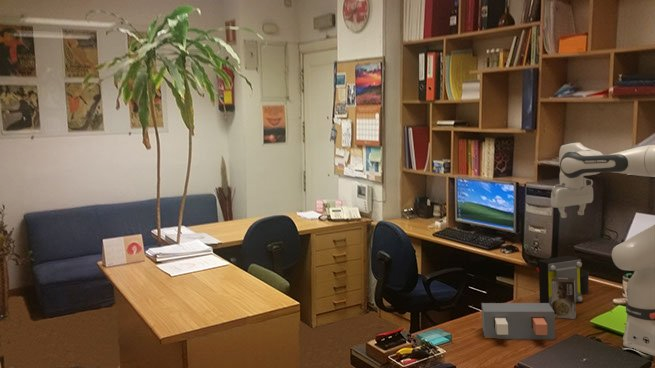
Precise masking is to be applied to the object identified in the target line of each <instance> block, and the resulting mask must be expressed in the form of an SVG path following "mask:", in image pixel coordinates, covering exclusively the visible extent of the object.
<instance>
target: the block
mask: <svg viewBox="0 0 655 368" xmlns="http://www.w3.org/2000/svg"><path fill="white" fill-rule="evenodd" d="M494 317H505V318H506V321H507V323H508V335H497V332H496V329H495V326H494ZM531 317H543V318H544V320H545V321H546V323H547V333H548V335H536V333H535V331H534V329H533V327H532V321H531ZM555 318H556V317H554V310H553V309H552V307H551V306H550V304H549V303H540V302H500V303H499V302H497V303H496V302H489V303H488V302H486V303H485V302H481V322H482V323H481V324H482V325H481V327H482V328H483V329H482V333H483V332H484V333H483V337H484V336H485V337H487V338H488V337H490V338H498V339H497V340H556V326H555V324H556V323H555V320H556V319H555ZM485 337H484V338H485Z"/></svg>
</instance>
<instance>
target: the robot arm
mask: <svg viewBox="0 0 655 368" xmlns="http://www.w3.org/2000/svg"><path fill="white" fill-rule="evenodd" d="M558 153H559V154H558V166H559V169H560V170H559V176H558V177H559V184H558V183H557V184H554V185H553V187H551V188H552V189H551V193H550V206H551V207H552V208H557V209H558V212H559V214H560V218H562V219H566V218H568V217H567V216H568V213H567V212H565V210H566V207H572V206H573V207H574V206H579V210H577V215H578V216H584V215H585V209H586V208H587V207H586V206H587V204H591V203H593V201H594V188H593V184H594V182H593V180H592V179H589V178H586V176H593V175H595V176H596V175H598V174H600V173H613V174H614V173H615V174H617V173H618V174H622V175H632V176H639V177H653V178H654V177H655V144H649V145H641V146H637V147H633V148H630V149H629V148H628V149H625V150H623V151H622V150H621V151H618V152H614V153H610V154H604V153H603V152H602V151H599V150H596V149H595V150H594V149H593V148H592V149H591V148H589V147H586V146H585V145H583V144H582V143H581V142H579V141H573V142H567V143H564V144H562V145H561V146H560V148H559V152H558ZM611 259H612V262H613V264H614V265H615V267H617V268H618V269H620V270H621V271H630V272H631V271H632V272H633V274H632V276H631V277H630V278H629V279H628V281H627V284H626V285H627V286H626V287H627V288H626V293H627V294H626V296H627V302H626V303H625V313H626V314H627V315H626V322H625V329H624V334H623V337H622V341H623V343H622V344H623V345H622V346H623V347H625V348H629V349H632V348H634V349H633V350H635V349H636V350H635V351H638V352H642V353H643V354H644V353H645V354H648V355H651V356H653V357H655V224H653V225H651V226H650V227H648V228H646V229H644V230H642V231H640V232H639V233H636V234H634V236H632V237H630V238H628V239H626V240H624V241H623V242H621V243H619V244H617V245H615V246H614V247H613V248H612V250H611Z"/></svg>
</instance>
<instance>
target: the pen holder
mask: <svg viewBox="0 0 655 368" xmlns="http://www.w3.org/2000/svg"><path fill="white" fill-rule="evenodd" d="M589 275H590V272H589V271H587V270H584V269H582V270H581V294H582V296H584V295H587V294H588V293H589V281H590V279H589V278H590V277H589Z"/></svg>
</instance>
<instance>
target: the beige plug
mask: <svg viewBox="0 0 655 368" xmlns="http://www.w3.org/2000/svg"><path fill="white" fill-rule="evenodd" d="M494 326H495V329H496V332H497V335H508V323H507V321H506V318H505V317H494Z"/></svg>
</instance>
